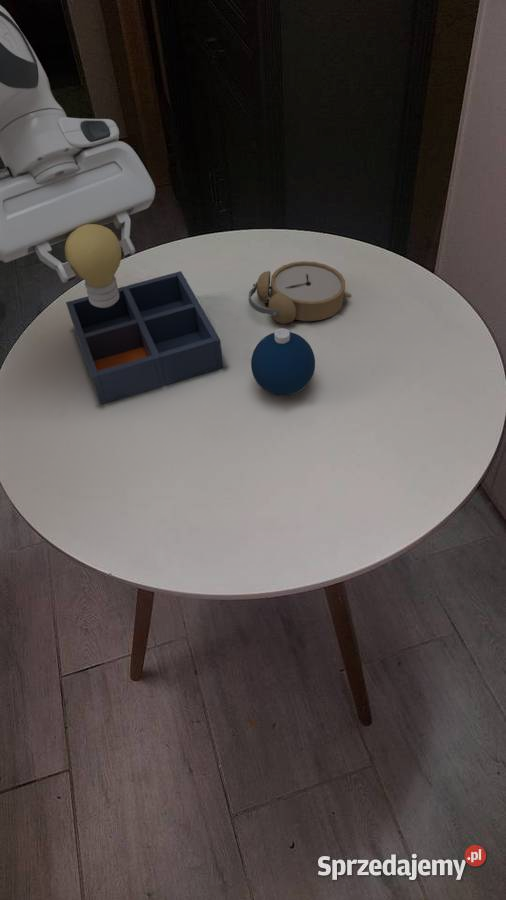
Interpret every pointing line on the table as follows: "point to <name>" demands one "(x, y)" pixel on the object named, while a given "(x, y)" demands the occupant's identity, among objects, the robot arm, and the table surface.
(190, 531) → the table surface
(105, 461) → the table surface
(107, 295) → the light bulb
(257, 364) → the christmas ornament
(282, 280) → the alarm clock
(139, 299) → the navy compartment tray
